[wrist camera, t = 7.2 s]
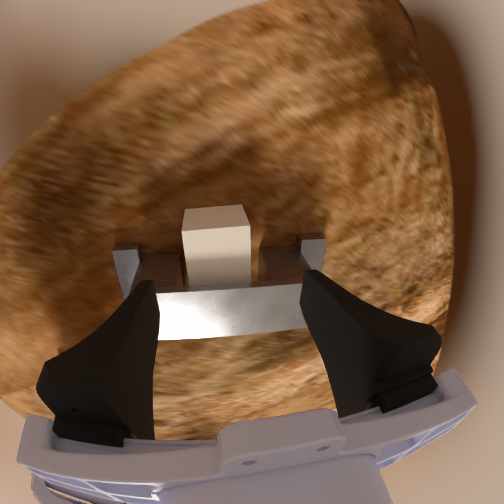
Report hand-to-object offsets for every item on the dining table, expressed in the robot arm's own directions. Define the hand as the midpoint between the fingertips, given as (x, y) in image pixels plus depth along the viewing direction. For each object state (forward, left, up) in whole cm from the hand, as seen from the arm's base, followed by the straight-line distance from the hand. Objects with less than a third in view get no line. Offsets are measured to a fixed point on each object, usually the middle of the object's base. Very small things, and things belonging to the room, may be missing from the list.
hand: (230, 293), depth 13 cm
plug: (-3, 0, -8) cm, 9 cm away
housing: (-4, 0, -8) cm, 9 cm away
